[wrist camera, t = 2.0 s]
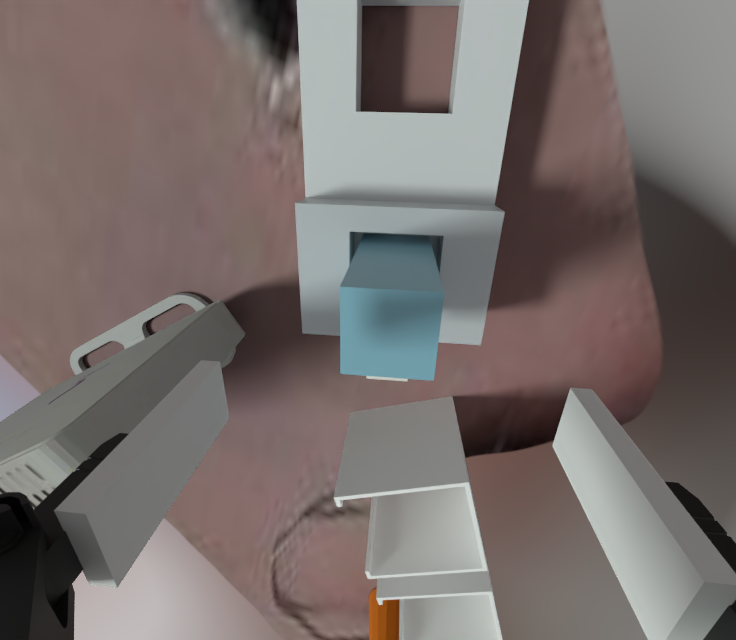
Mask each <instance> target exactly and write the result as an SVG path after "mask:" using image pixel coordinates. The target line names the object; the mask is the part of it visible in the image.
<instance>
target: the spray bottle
mask: <svg viewBox="0 0 736 640" xmlns="http://www.w3.org/2000/svg"><path fill="white" fill-rule="evenodd" d="M376 592H377V588H375V589H374V590H372V592H371V594H370V595H369V640H399V601H400V599H395V600H383V605H379V604H378V601H377V599H376Z"/></svg>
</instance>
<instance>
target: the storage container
mask: <svg viewBox="0 0 736 640" xmlns="http://www.w3.org/2000/svg"><path fill="white" fill-rule="evenodd" d="M365 497H372V500H371V511H370V522H369V533H368V544H367V554H366V565H365V573H366V575H367V578H368V579H376V578H377V592H376V599H377V601H378V604H379V605H383V600H395V599H400V601H399V640H502V634H501V629H500V625H499V620H498V615H497V609H496V605H495V599H494V594H493V589H492V584H491V579H490V574H489V569H488V564H487V559H486V554H485V549H484V545H483V540H482V535H481V531H480V525H479V521H478V516H477V511H476V507H475V502H474V497H473V492H472V488H471V484H470V478H469V473H468V468H467V464H466V459H465V454H464V449H463V444H462V440H461V435H460V430H459V425H458V421H457V416H456V411H455V406H454V401H453V397H452V396H451V397H444V398H438V399H432V400H425V401H419V402H413V403H406V404H400V405H394V406H387V407H381V408H375V409H368V410H362V411H356V412H351V413H350V418H349V423H348V428H347V433H346V438H345V443H344V448H343V453H342V458H341V463H340V468H339V473H338V478H337V483H336V488H335V493H334V500H335V502H336V505H337V507H342V503H343V500H347V499H356V498H365Z"/></svg>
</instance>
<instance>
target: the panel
mask: <svg viewBox="0 0 736 640" xmlns="http://www.w3.org/2000/svg"><path fill="white" fill-rule="evenodd" d="M528 3H529V0H297V13H298V36H299V58H300V81H301V104H302V127H303V149H304V172H305V195H306V198H304V199H302V200H300V201H298V202H296V203H295V212H296V230H297V247H298V265H299V283H300V301H301V319H302V333H303V334H319V335H334V336H340V285H341V283H342V281H343V279H344V277H345V274H346V272H347V270H348V268H349V266H350V263H351V261H352V259H353V257H354V255H355V253H356V250H357V248H358V246H359V244H360V242H361V240H362V237H363V235H364V234H383V235H405V236H427V237H429V238H430V242H431V245H432V249H433V252H434V256H435V260H436V263H437V267H438V271H439V274H440V278H441V281H442V285H443V289H444V292H445V293H444V301H443V309H442V318H441V326H440V334H439V342H441V343H456V344H472V345H481V341H482V336H483V330H484V324H485V319H486V313H487V308H488V302H489V297H490V291H491V286H492V280H493V274H494V269H495V263H496V258H497V252H498V247H499V241H500V236H501V230H502V224H503V219H504V213H505V212H504V211H503V210H501V209H500V208H498V207H497V206H495V200H496V194H497V188H498V182H499V176H500V170H501V164H502V158H503V152H504V146H505V140H506V134H507V128H508V122H509V117H510V111H511V105H512V99H513V93H514V87H515V81H516V75H517V69H518V63H519V57H520V51H521V45H522V39H523V33H524V27H525V21H526V15H527V9H528ZM362 6H459V13H458V23H457V33H456V42H455V52H454V61H453V71H452V80H451V90H450V100H449V109H448V114H441V113H397V112H361V58H362Z"/></svg>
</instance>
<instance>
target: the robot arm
mask: <svg viewBox="0 0 736 640" xmlns="http://www.w3.org/2000/svg"><path fill="white" fill-rule="evenodd" d="M228 419H229V412H228V406H227V400H226V394H225V388H224V382H223V376H222V370H221V364H220V362H219V361H206V360H201V361H200V362H199V363H198V364H197V365H196V366H195V367H194V368H193V369H192V370H191V371H190V372H189V373H188V374H187V375H186V376H185V377H184V378H183V379H182V380H181V381H180V382H179V383H178V384H177V385H176V386H175V387H174V388H173V389H172V390H171V391H170V393H169V394H168V395H167V396H166V397H165V398H164V399H163V400H162V401H161V402H160V403H159V404H158V405H157V406H156V407H155V408H154V409H153V410H152V411H151V412H150V413H149V414H148V415H147V416H146V417H145V418H144V419H143V420H142V421H141V422H140V423H139V424H138V425H137V426H136V427H135V428H134V429H133V430H132V431H131V432H130V433H129V434H127V433H119V434H117V435H116V436H114V437H112V438H111V439H109V440H107V441H106V442H104V443H102V444H101V445H100V446H99V447H98V448H97V449H96V450H95V451H94V452H93V453H92V454H91V455H90V456H89V457H88V459H87V460H84V461H83V462H82V463H81V464H80V465H79V466H78V467H77V468H76V471H75V472H72V473H71V474H70V475H69V476H68V477H67V478H66V479H65V480H64V481H63V482H62V483H61V484H60V485H58V486H57V487H56V488H55V489H54V490H53V491H52V492H51V493H50V494H49V495H48V496H47V497H46V498H45V499H44V500H43V501H42V502H41V503H40V504H39V505H38V506H37V507H36V508H35V509H33V507H32V505H31V503H30V501H29V499H28V497H27V496H26V495H24V494H22V493H20V492H7V493H3V494H0V640H74V597H75V595H74V594H75V593H74V589H73V586H72V583H73V582H74V581H75V579H76V578H77V577H78V575H79V574H80V573H81V571H82V570H83V572H84V574H85V576H86V579H87V581H88V583H89V584H91V585H99V586H107V587H115V588H117V587H118V586H119V584H120V583H121V581H122V580H123V578H124V577H125V575H126V574H127V572H128V571H129V569H130V568H131V566H132V565H133V563H134V562H135V560H136V559H137V557H138V556H139V554H140V552H141V551H142V550H143V548H144V547H145V545H146V544H147V542H148V540H149V539H150V537H151V536H152V534H153V533H154V531H155V530H156V528H157V527H158V525H159V524H160V522H161V521H162V519H163V518H164V516H165V515H166V513H167V512H168V510H169V509H170V507H171V506H172V504H173V503H174V501H175V500H176V498H177V497H178V495H179V494H180V492H181V491H182V489H183V488H184V486H185V485H186V483H187V481H188V480H189V478H190V477H191V475H192V474H193V472H194V471H195V469H196V468H197V466H198V465H199V463H200V462H201V460H202V459H203V457H204V456H205V454H206V453H207V451H208V450H209V448H210V447H211V445H212V444H213V442H214V441H215V439H216V438H217V436H218V435H219V433H220V432H221V430H222V429H223V427H224V426H225V424H226V422H227V421H228ZM552 446H553V448H554V451H555V452H556V455H557V457H558V459H559V461H560V463H561V465H562V467H563V469H564V471H565V473H566V475H567V477H568V479H569V481H570V483H571V485H572V487H573V489H574V491H575V493H576V495H577V497H578V499H579V501H580V503H581V505H582V507H583V509H584V511H585V513H586V515H587V517H588V519H589V521H590V523H591V525H592V527H593V529H594V531H595V533H596V535H597V537H598V539H599V541H600V543H601V546H602V548H603V550H604V552H605V554H606V556H607V558H608V559H609V562H610V564H611V566H612V568H613V570H614V572H615V574H616V576H617V578H618V580H619V582H620V584H621V586H622V588H623V590H624V592H625V594H626V596H627V598H628V600H629V602H630V604H631V606H632V608H633V610H634V612H635V614H636V616H637V618H638V620H639V622H640V624H641V626H642V628H643V630H644V633H645V634H646V637H647V639H648V640H736V543H735V542H734V541H733V540H732V538H731V537H729V536H727V532H725V530H724V529H723V528H722V526H721V525H720V524H719V523H718V522H717V521H715V520H714V517H713V516H712V514H711V513H710V512H709V511H708V510H707V508H706V507H705V506H704V505H703V504H702V503H701V501H700V500H699V499H698V498H696V497H695V496H694V495H693V494H691V493H690V492H689V491H688V490H686V489H685V488H684V487H683V486H681V485H680V484H679V483H674V482H664V481H663V480H662V478H661V477H660V476H659V474H658V473H657V472H656V471H655V469H654V468H653V467H652V465H651V464H650V463H649V462H648V460H647V459H646V458H645V456H644V455H643V454H642V453H641V451H640V450H639V449H638V447H637V446H636V445H635V444H634V442H633V441H632V440H631V439H630V437H629V436H628V435H627V433H626V432H625V431H624V429H623V428H622V427H621V426H620V424H619V423H618V422H617V420H616V419H615V418H614V417H613V415H612V414H611V413H610V411H609V410H608V409H607V408H606V406H605V405H604V404H603V403H602V401H601V400H600V399H599V397H598V396H597V395H596V394H595V392H594V391H593V390H592V389H580V388H570V390H569V394H568V397H567V400H566V403H565V407H564V410H563V413H562V416H561V419H560V423H559V426H558V429H557V432H556V436H555V439H554V442H553V445H552Z"/></svg>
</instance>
